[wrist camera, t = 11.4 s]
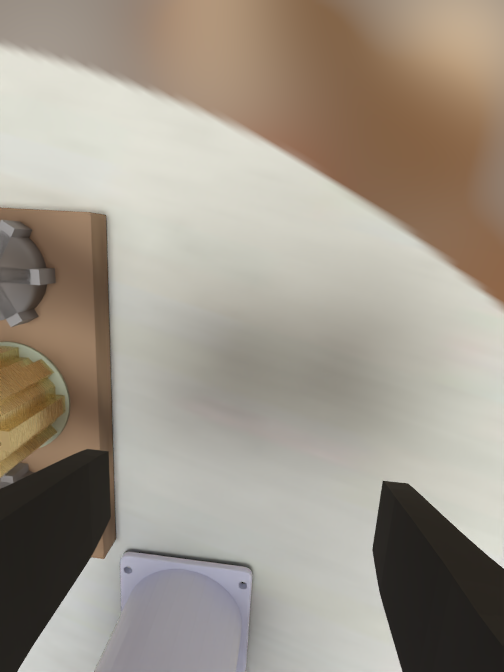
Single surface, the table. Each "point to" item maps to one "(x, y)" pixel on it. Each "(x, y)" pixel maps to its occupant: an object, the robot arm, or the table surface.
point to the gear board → (61, 328)
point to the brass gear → (25, 407)
